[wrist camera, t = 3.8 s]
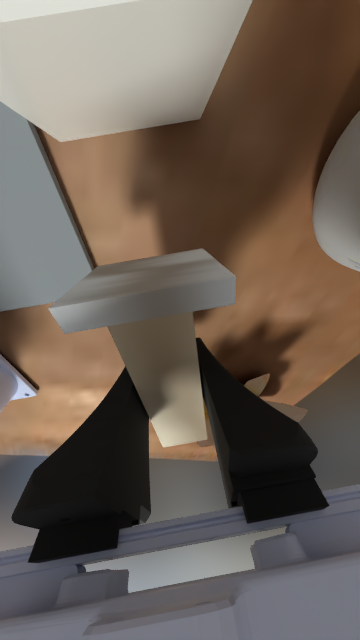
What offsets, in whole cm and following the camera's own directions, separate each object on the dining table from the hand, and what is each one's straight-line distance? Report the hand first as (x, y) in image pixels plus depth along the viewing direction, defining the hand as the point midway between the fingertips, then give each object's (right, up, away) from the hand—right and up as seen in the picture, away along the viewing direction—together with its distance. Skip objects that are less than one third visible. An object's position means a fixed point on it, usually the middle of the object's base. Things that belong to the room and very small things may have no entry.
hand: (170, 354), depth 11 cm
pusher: (0, +1, +1) cm, 2 cm away
